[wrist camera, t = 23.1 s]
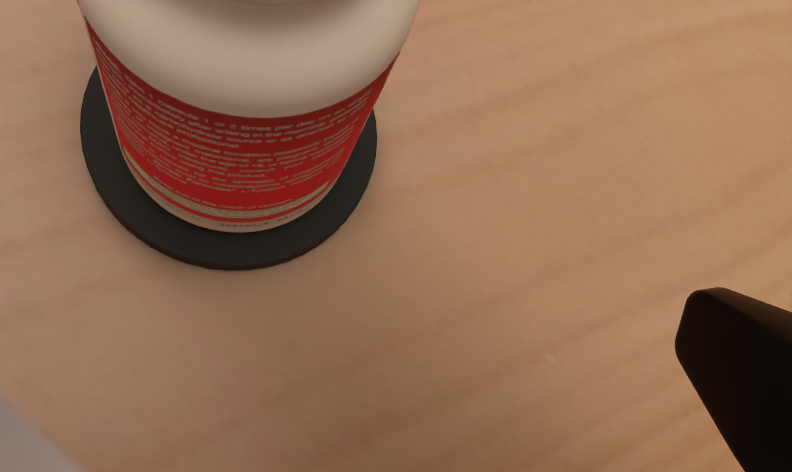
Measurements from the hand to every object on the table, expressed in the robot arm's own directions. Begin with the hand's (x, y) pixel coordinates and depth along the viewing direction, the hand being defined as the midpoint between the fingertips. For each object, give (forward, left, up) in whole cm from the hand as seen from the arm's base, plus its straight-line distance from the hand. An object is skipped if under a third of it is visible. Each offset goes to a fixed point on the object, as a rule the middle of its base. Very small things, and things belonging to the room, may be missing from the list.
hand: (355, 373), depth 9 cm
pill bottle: (+4, +6, -11) cm, 13 cm away
